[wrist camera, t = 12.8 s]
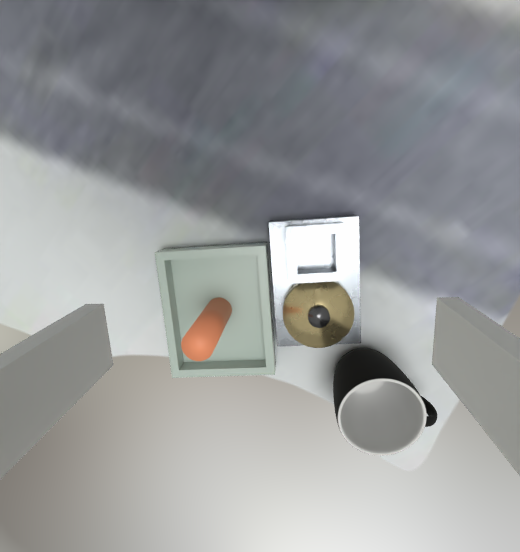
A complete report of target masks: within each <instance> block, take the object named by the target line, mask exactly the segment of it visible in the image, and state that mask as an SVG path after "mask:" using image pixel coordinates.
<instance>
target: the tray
mask: <svg viewBox="0 0 520 552" xmlns="http://www.w3.org/2000/svg"><path fill="white" fill-rule="evenodd" d="M155 258H156V265H157V273H158V280H159V287H160V294H161V301H162V308H163V316H164V323H165V330H166V337H167V344H168V351H169V358H170V366H171V372H172V378H178V377H208V376H209V377H212V376H244V375H275V366H276V361H275V346H274V332H273V318H272V304H271V290H270V276H269V261H268V247H267V242H262V243H246V244H231V245H215V246H200V247H184V248H169V249H162V250H160V251H157V252H155ZM218 297H220V298H224V299H226V300H227V301H228V302H229V303H230V304H231V307H232V313H231V316H230V318H229V320H228V322H227V324H226V326H225V328H224V330H223V333H222V335H221V337H220V339H219V341H218V343H217V345H216V347H215V349H214V351H213V353H212V355H211V356H210V357H209V358H208V359H206V360H204V361H194V360H191V359H189V358H188V357H187V356H186V355H185V354H184V353H183V351H182V347H181V342H182V339H183V337H184V336H185V334H186V333H187V331H188V330H189V329H190V327H191V326H192V325H193V323H194V322H195V321H196V319H197V318H198V317H199V315H200V314H201V312H202V311H203V310H204V308H205V307H206V306H207V304H208V303H209V302H210V301H211V300H212V299H214V298H218Z"/></svg>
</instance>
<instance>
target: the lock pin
mask: <svg viewBox="0 0 520 552" xmlns="http://www.w3.org/2000/svg"><path fill="white" fill-rule="evenodd" d="M231 313H232V307H231V304H230V303H229V302H228V301H227V300H226V299H224V298H220V297H218V298H214V299H212V300H211V301H210V302H209V303H208V304H207V306H206V307H205V308H204V310H203V311H202V312H201V314H200V315H199V317H198V318H197V319H196V321H195V322H194V323H193V325H192V326H191V327H190V329H189V330H188V331H187V333H186V334H185V336H184V337H183V339H182V342H181V347H182V351H183V353H184V354H185V355H186V356H187V357H188V358H189V359H191V360H194V361H204V360H206V359H208V358H209V357H210V356H211V355H212V353H213V351H214V349H215V347H216V345H217V343H218V341H219V339H220V337H221V335H222V333H223V330H224V328H225V326H226V324H227V322H228V320H229V318H230V316H231Z"/></svg>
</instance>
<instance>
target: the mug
mask: <svg viewBox="0 0 520 552" xmlns="http://www.w3.org/2000/svg"><path fill="white" fill-rule="evenodd" d="M333 393H334V405H335V413H336V418H337V423H338V426H339V429H340V431H341V433H342V435H343V437H344V438H345V439H346V441H347V442H348V443H349V444H350V445H352V446H353V447H354V448H356V449H357V450H359V451H362V452H364V453H367V454H371V455H378V456H384V455H392V454H396V453H399V452H401V451H403V450H405V449H407V448H409V447H410V446H411V445H413V444H414V443H415V442H416V441H417V440H418V439H419V437H420V436H421V434H422V433H423V431H424V428H425V427H428V426H432V425H433V424H434V423H435V422H436V420H437V412H436V410H435V408H434V407H433V406H432V404H431V403H430V402H428V401H427V400H426V399H425V398H423V397H422V396H420V394H419V393H418V391H417V390H416V388H415V387H414V386H413V384H412V383H411V382H410V380H409V379H408V378H407V377H406V375H405V374H404V373H403V372H402V371H401V370H400V369H399V368H398V367H397V366H396V365H395V364H394V363H393V362H392V361H391V360H390V359H389V358H387V357H386V356H385V355H383V354H382V353H380V352H378V351H375V350H372V349H367V348H361V349H355V350H353V351H350V352H348V353H347V354H346V355H344V356H343V357H342V358H341V360H340V361H339V363H338V364H337V367H336V370H335V374H334V383H333ZM427 414H428V416H427Z"/></svg>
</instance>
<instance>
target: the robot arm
mask: <svg viewBox="0 0 520 552" xmlns="http://www.w3.org/2000/svg"><path fill="white" fill-rule="evenodd" d="M432 365H433V366H434V368H435V369H436V370H437V371H438V373H439V374H440V375H441V376H442V378H443V379H444V380H445V381H446V383H447V384H448V385H449V387H450V388H451V389H452V390H453V392H454V393H455V394H456V395H457V397H458V398H459V399H460V401H461V402H462V403H463V404H464V406H465V407H466V408H467V409H468V411H469V412H470V413H471V414H472V416H473V417H474V418H475V420H476V421H477V422H478V423H479V425H480V426H481V427H482V428H483V430H484V431H485V432H486V433H487V435H488V436H489V437H490V439H491V440H492V441H493V442H494V443H495V445H496V446H497V447H498V449H499V450H500V451H501V453H503V455H504V456H505V458H506V459H507V460H508V461H509V463H510V464H511V465H512V466H513V468H514V469H515V470H516V471H517V473H518V474H519V475H520V338H519V337H517V336H516V335H514V334H513V333H511V332H510V331H508V330H506V329H505V328H504V327H502V326H501V325H499V324H498V323H496V322H495V321H493V320H492V319H490V318H489V317H487V316H486V315H484V314H483V313H481V312H480V311H478V310H477V309H475V308H474V307H472V306H471V305H469V304H468V303H466V302H465V301H463V300H462V299H460V298H459V297H446V298H437V305H436V318H435V331H434V344H433V357H432ZM112 366H113V360H112V354H111V347H110V341H109V335H108V329H107V322H106V316H105V310H104V304H85V305H84V306H82V307H80V308H78V309H77V310H75V311H73V312H72V313H70V314H68V315H66V316H65V317H63V318H61V319H59V320H58V321H56V322H54V323H53V324H51V325H49V326H47V327H46V328H44V329H42V330H41V331H39V332H37V333H35V334H34V335H32V336H30V337H29V338H27V339H25V340H23V341H22V342H20V343H19V344H17V345H15V346H13V347H11V348H10V349H8V350H6V351H5V352H3V353H1V354H0V480H1V479H2V478H3V477H4V476H5V475H6V474H7V472H8V471H10V469H11V468H12V467H14V465H15V464H16V463H17V462H18V461H19V460H20V459H21V458H22V457H23V456H24V455H25V454H26V453H27V452H28V451H29V450H30V449H31V448H32V447H33V446H34V445H35V444H36V443H37V442H38V441H39V440H40V439H41V438H42V437H43V436H44V435H45V434H46V433H47V432H48V431H49V430H50V429H51V428H52V427H53V426H54V425H55V424H56V423H57V422H58V421H59V420H60V419H61V418H62V416H64V415H65V414H66V413H67V411H68V410H70V409H71V408H72V407H73V406H74V404H76V403H77V401H78V400H79V399H80V398H81V397H82V396H83V395H84V394H85V393H86V392H87V391H88V390H89V389H90V388H91V387H92V386H93V385H94V384H95V383H96V382H97V381H98V380H99V379H100V378H101V377H102V376H103V375H104V374H105V373H106V372H107V371H108V370H109V369H110V368H111V367H112Z"/></svg>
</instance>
